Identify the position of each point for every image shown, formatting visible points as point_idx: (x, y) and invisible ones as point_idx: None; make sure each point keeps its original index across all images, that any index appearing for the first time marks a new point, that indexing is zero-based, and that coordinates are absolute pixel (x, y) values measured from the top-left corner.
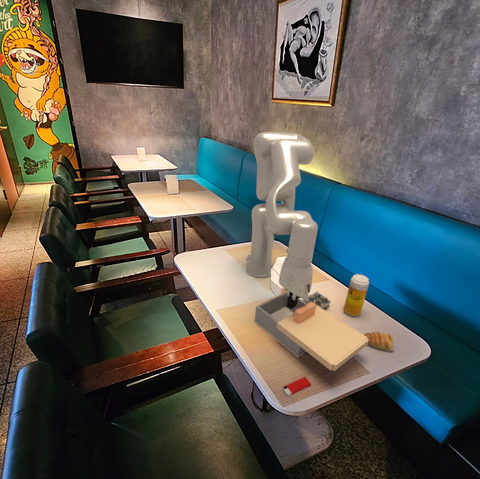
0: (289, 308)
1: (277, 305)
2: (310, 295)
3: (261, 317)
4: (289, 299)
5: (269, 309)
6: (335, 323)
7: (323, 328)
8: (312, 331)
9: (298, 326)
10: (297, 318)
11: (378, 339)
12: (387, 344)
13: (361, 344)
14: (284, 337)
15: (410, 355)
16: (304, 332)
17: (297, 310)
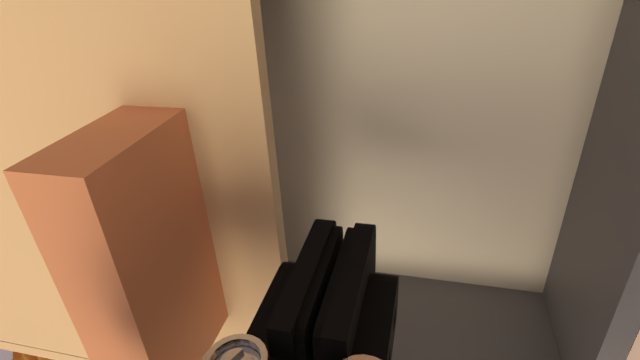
0: (328, 220)
1: (584, 239)
2: None
3: None
4: (322, 316)
5: (616, 137)
6: (53, 322)
7: (23, 228)
8: (2, 131)
9: (90, 79)
10: (99, 131)
11: (37, 357)
12: (14, 353)
13: None
14: None
15: (6, 354)
16: (1, 58)
17: (76, 202)
